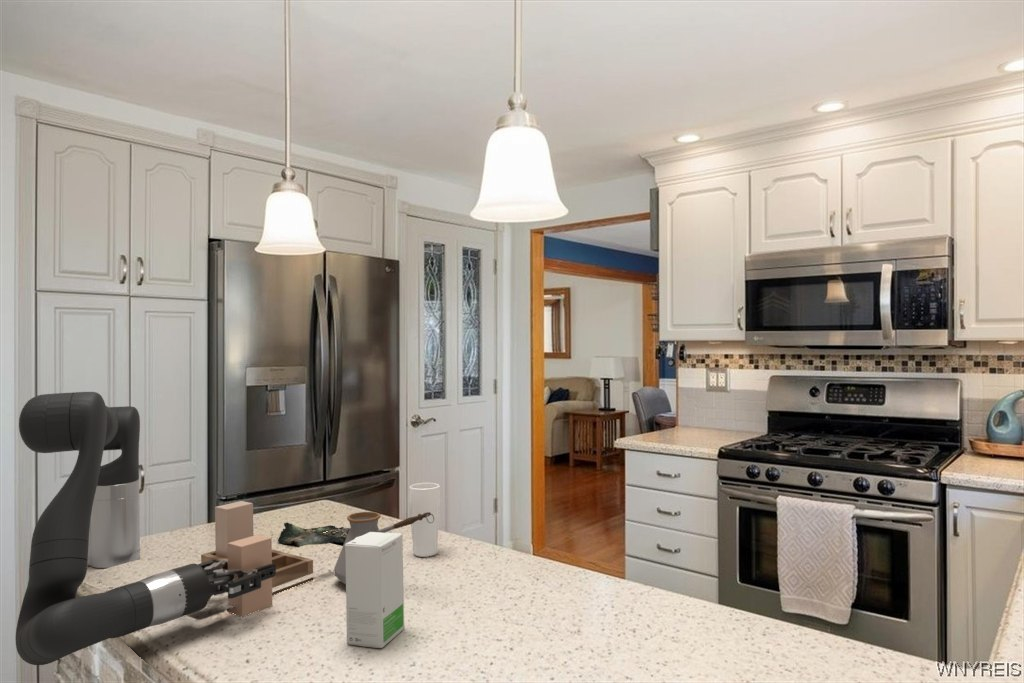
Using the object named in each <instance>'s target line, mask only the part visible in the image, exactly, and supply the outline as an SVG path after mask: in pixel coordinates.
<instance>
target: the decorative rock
mask: <svg viewBox="0 0 1024 683" xmlns="http://www.w3.org/2000/svg"><path fill="white" fill-rule="evenodd" d="M283 526H284V528H282V530H281V531H280V534H279V536H278V539H277V542H279V544H288V545H290V544H295V546H297V547H298V548H300V547H302V546H303V547H304V546H309V545H312V546H313V545H326V544H328V543H329V544H332V543H342V544H344V543H345V540H346V538H347V535H348V533H349V530H350V528H351V527H346V528H345V527H344V526H341V527H336V525H330V524H329V525H326V526H319V527H312V528H302V527H300V526H297V525H295V524H293V523H289V522H288V521H286V522H284V523H283ZM326 531H328V532H326ZM323 532H326V533H323Z"/></svg>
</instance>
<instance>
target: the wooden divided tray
mask: <svg viewBox="0 0 1024 683" xmlns="http://www.w3.org/2000/svg"><path fill="white" fill-rule="evenodd" d="M214 559H216V560H218V563H219V562H220V561H222V560H227V562H228V558H227V559H225V558H222V557H218V556H216V550H214V551H210V552H206V553H203V554H200V562H201V563H204V562H207V561H211V560H214ZM201 563H200V564H201ZM272 564H275V565H276V575H275V576H274V577H272V589H273V588H274V587H278V586H280V585H283V584H286V583H290V582H292V581H294V580H297V579H300V578H303V577H306V576H308V575H311V574H313V573H314V560H313V559H311V558H307V557H303V556H299V555H296V554H291V553H288V552H284V551H280V550H275V549H272ZM207 567H209V566H207ZM311 580H312V581H314V577H310V578H307V579H304V580H301V581H299V582H297V583H294V584H290V585H288V586H284V587H283V588H279V589H277V590H274V591H272V596H275V595H278V594H280V593H283V592H285V591H284V590H286V591H288V590H290V588H291V589H293V588H292V587H294V588H296V587H299V586H301V585H300V584H302V585H304V584H306V582H307V583H309V582H308V581H310V582H312V581H311ZM303 583H304V584H303ZM298 585H299V586H298ZM295 586H296V587H295ZM287 589H288V590H287ZM282 591H283V592H282ZM279 592H280V593H279ZM277 593H278V594H277ZM274 594H275V595H274Z"/></svg>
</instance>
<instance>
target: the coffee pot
mask: <svg viewBox="0 0 1024 683" xmlns="http://www.w3.org/2000/svg"><path fill="white" fill-rule="evenodd" d="M430 515H432V516H433V514H431V513H430V512H427V513H424V514H422V515H421V514H418V516H415V517H410V516H409V517H407V518H406V519H405V518H404V519H403V520H400V521H399V522H398V521H397V522H396V523H394V524H393V525H390V526H385V527H383V528H380V529H379V527H378V523H379V519H380V518H381V516H382V515H381V514H380V513H378V512H375V511H374V512H373V511H361V512H354V513H351V514H349V515H348V516H346V520H347V521H348V522H349V525H350V527H349V528H350V530H349V533H348V535H347V538H346V540H345V543H343V545H342V548H341V551H340V552H339V556H338V557H337V560H336V563H335V565H334V569H333V572H334V575H335V577H336V578H337V579H338V580H339V581H340V583H342V584H343V585H344V584H345V585H346V557H345V544H346V543H348V542H350V541H352V540H354V539H355V538H356V537H359V536H362V535H364V534H366V533H369V532H381V533H389V532H390V531H394V530H396V529H399V528H403V527H407V526H411V524H412V523H414V522H416V521H418V520H420V521H421V520H422V519H423V518H426V519H427V517H428V516H430ZM427 521H428V519H427ZM428 522H429V521H428ZM433 522H434V516H433ZM433 522H432V523H433ZM429 523H431V522H429ZM345 585H344V586H345Z"/></svg>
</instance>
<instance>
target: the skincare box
mask: <svg viewBox="0 0 1024 683" xmlns="http://www.w3.org/2000/svg"><path fill="white" fill-rule="evenodd" d="M403 535H404V534H403V533H399V532H385V533H381V532H369V533H366V534H364V535H362V536H359V537H356V538H355V539H354V540H352V541H350V542H348V543H346V544H345V557H346V586H345V605H346V606H345V607H346V608H345V612H346V613H345V614H346V615H345V616H346V644H347V645H351V646H358V647H366V648H374V649H382V648H384V647H385V646H386V645H387V644H388V643H390V642H391V641H392V640H393V639H394V638H395V637H397V635H399V633H401V632H402V631H403V630H404V629H405V600H404V599H405V598H404V597H405V592H404V553H403V552H404V550H403V549H404V547H403V544H404V543H403Z"/></svg>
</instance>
